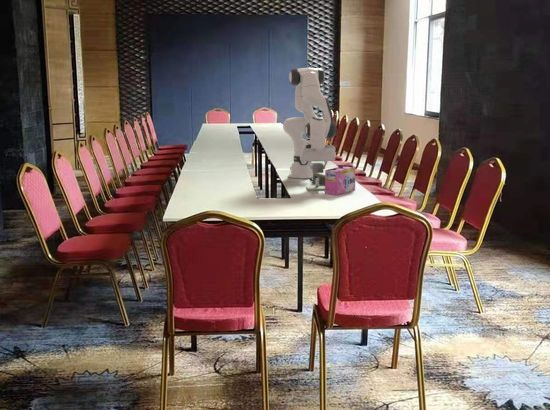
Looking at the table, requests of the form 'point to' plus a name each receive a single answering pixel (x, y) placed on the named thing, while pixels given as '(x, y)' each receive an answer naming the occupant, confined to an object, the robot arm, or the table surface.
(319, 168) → the collar
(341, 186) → the gum box
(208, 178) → the table surface
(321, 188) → the post board
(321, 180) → the handheld radio
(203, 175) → the table surface
